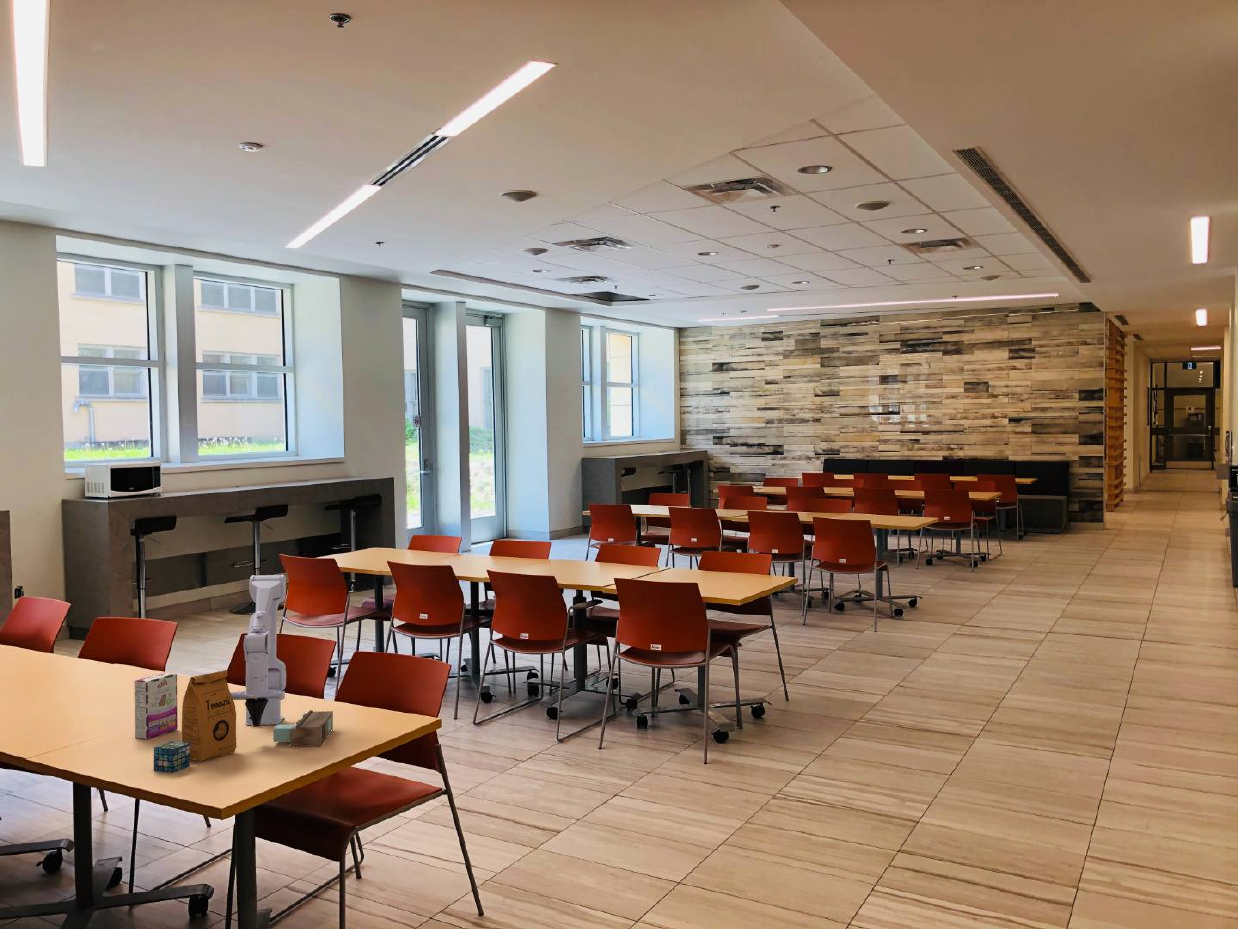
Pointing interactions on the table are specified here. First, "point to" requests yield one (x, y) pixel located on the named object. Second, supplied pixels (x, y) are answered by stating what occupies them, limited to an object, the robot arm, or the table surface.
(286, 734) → the peg near
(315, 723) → the sleeve block
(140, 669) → the table surface
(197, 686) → the coffee package
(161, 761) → the puzzle
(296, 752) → the table surface
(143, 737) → the candy bar box
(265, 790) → the table surface
